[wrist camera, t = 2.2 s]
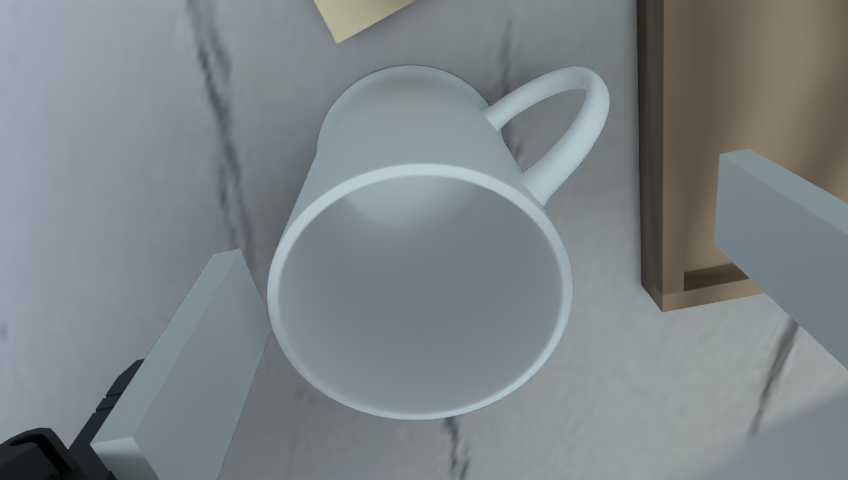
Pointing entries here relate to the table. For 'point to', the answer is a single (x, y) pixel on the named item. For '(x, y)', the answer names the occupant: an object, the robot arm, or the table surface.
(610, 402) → the table surface
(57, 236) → the table surface
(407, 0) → the oak block
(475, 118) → the mug
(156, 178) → the table surface
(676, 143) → the tray
